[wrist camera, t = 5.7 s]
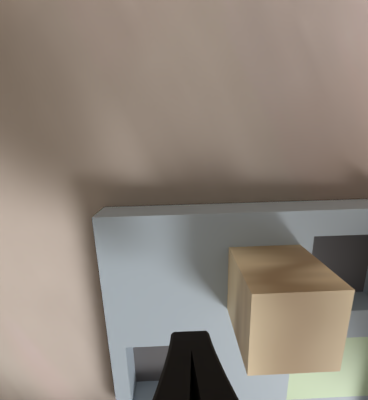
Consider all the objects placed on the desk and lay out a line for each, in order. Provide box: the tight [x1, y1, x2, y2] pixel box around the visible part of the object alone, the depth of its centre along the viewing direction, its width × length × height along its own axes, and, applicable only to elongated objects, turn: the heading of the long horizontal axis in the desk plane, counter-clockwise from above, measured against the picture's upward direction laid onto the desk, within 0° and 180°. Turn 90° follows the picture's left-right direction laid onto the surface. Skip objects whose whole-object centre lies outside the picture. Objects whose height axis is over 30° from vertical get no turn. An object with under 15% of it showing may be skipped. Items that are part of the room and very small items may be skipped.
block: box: [227, 245, 355, 376], centre depth 11 cm, size 4×4×4 cm
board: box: [92, 199, 368, 400], centre depth 14 cm, size 18×16×4 cm
